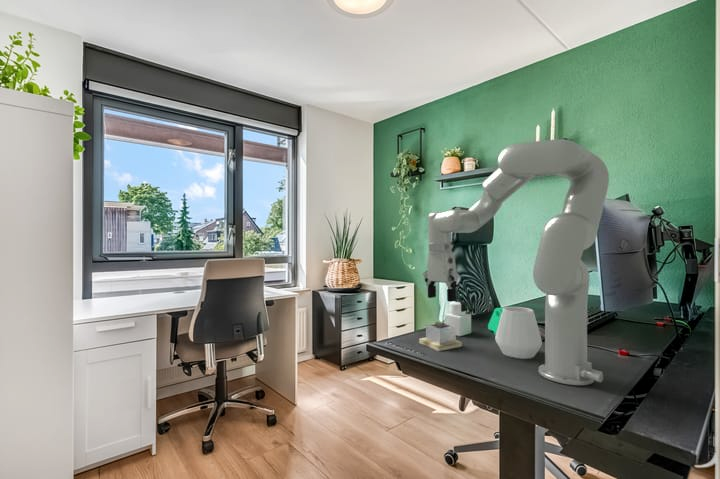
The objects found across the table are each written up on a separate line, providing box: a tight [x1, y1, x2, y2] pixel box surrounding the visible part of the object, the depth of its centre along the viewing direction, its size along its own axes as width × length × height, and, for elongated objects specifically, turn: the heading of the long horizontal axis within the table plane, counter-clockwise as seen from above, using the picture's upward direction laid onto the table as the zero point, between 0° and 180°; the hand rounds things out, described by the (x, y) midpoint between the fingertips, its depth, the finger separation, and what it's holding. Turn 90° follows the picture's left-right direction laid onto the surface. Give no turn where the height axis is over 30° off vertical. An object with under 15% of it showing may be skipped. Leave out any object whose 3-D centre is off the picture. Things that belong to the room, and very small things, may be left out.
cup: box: [494, 306, 543, 360], centre depth 111 cm, size 13×13×14 cm
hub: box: [425, 322, 457, 345], centre depth 120 cm, size 7×7×5 cm
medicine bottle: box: [444, 300, 472, 337], centre depth 135 cm, size 7×7×12 cm
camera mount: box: [487, 307, 504, 335], centre depth 133 cm, size 12×8×10 cm, turn 14°
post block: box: [418, 321, 463, 352], centre depth 120 cm, size 10×10×8 cm
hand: (441, 299), depth 120 cm, fingers open, 9 cm apart
